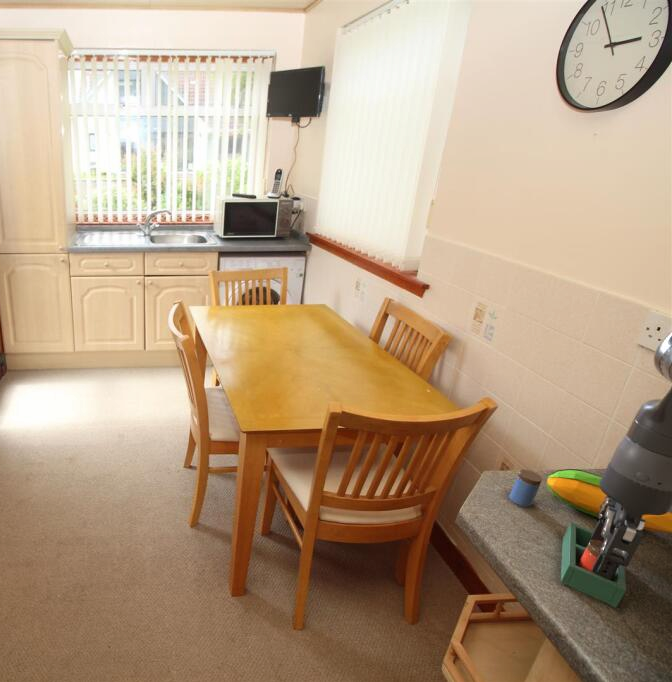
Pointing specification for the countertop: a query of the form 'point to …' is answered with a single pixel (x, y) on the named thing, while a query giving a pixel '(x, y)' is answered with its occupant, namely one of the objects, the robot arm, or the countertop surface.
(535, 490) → the blue and brown cylinder
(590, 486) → the corn
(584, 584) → the caddy
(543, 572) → the countertop surface
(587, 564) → the red pot
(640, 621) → the countertop surface
